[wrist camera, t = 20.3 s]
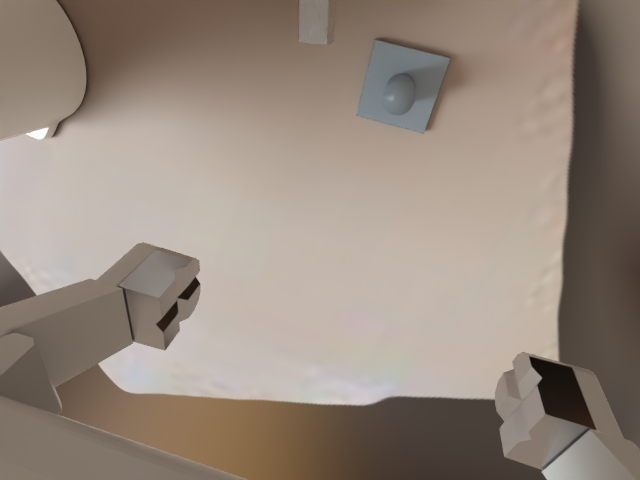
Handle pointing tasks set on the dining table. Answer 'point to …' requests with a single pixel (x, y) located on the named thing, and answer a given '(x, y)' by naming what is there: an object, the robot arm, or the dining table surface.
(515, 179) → the dining table surface
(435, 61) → the cover
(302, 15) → the lever handle
